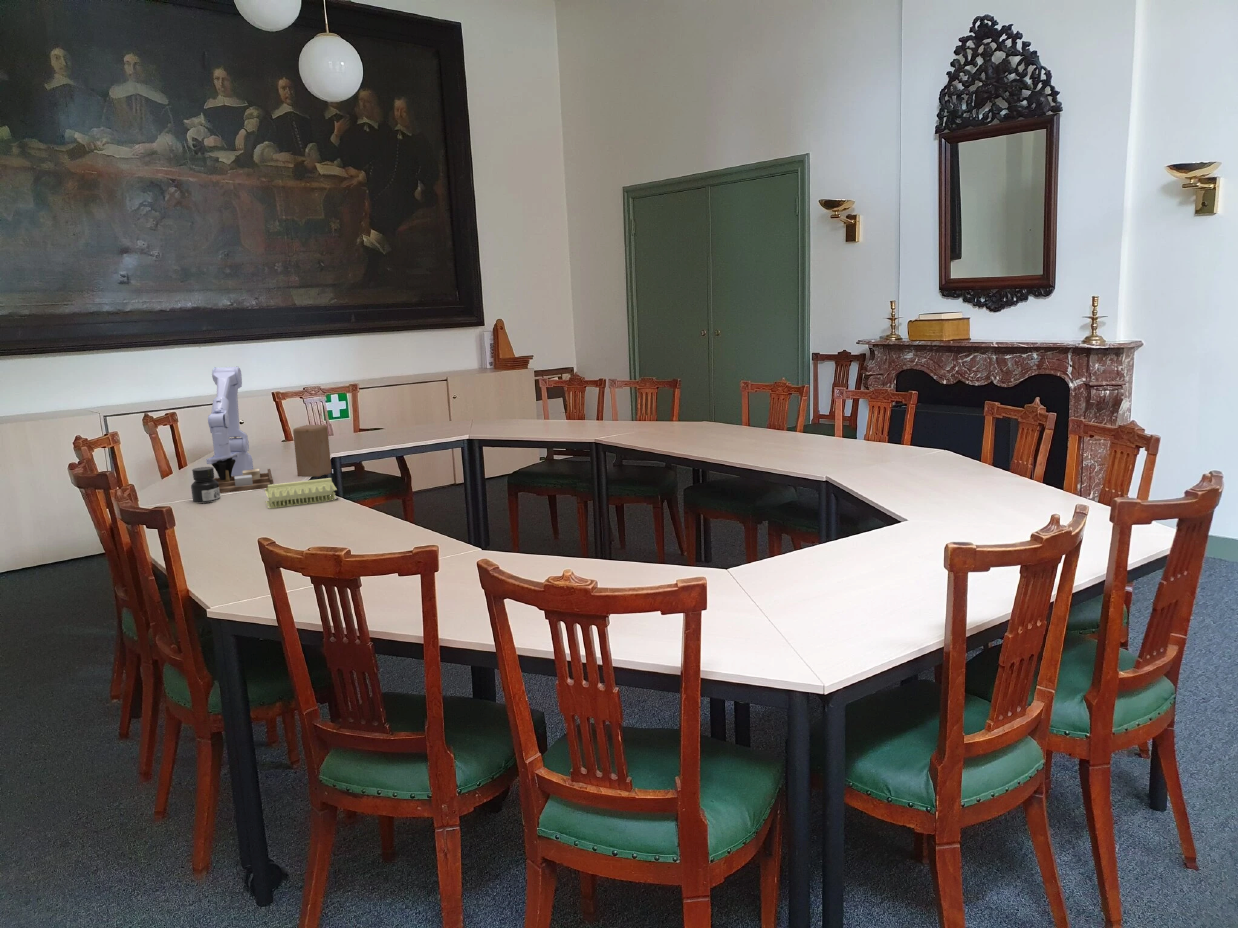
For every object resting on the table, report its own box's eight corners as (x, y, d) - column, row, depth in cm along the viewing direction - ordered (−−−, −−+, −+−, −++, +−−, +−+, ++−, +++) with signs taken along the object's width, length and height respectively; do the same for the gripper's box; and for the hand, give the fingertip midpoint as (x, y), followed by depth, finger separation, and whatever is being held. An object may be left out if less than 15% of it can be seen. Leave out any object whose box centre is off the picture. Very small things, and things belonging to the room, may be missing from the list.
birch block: (224, 485, 333) (221, 472, 332) (224, 483, 338) (222, 469, 337) (260, 480, 338) (258, 467, 337) (260, 478, 343) (258, 465, 341)
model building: (335, 493, 319) (334, 474, 317) (341, 501, 307) (339, 481, 306) (262, 502, 308) (260, 482, 307) (265, 510, 296) (263, 489, 295)
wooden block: (319, 478, 344) (314, 428, 341) (296, 478, 346) (291, 428, 343) (332, 473, 354) (328, 424, 350) (310, 472, 356) (305, 424, 352)
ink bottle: (209, 505, 305) (204, 471, 302) (186, 504, 307) (182, 471, 304) (226, 498, 314) (222, 466, 312) (204, 498, 316) (200, 465, 314)
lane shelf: (203, 497, 317) (202, 486, 317) (205, 484, 339) (203, 475, 338) (273, 489, 327) (272, 479, 326) (271, 477, 348) (270, 468, 348)
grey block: (235, 489, 325) (234, 478, 324) (235, 486, 330) (234, 476, 329) (253, 487, 327) (251, 477, 327) (252, 485, 332) (251, 474, 331)
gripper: (227, 440, 341) (231, 474, 344) (198, 447, 328) (202, 482, 330) (241, 441, 339) (245, 475, 341) (213, 447, 325) (217, 483, 328)
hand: (225, 479), depth 336 cm, fingers closed on birch block, 2 cm apart
